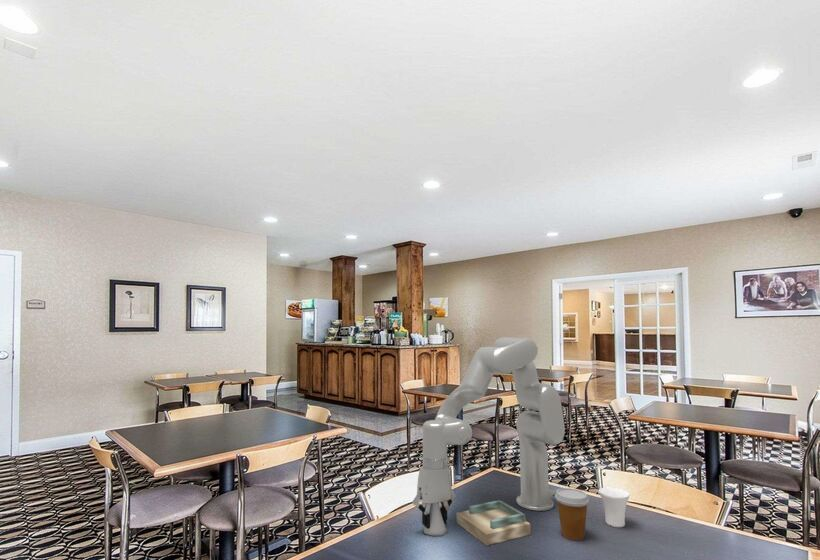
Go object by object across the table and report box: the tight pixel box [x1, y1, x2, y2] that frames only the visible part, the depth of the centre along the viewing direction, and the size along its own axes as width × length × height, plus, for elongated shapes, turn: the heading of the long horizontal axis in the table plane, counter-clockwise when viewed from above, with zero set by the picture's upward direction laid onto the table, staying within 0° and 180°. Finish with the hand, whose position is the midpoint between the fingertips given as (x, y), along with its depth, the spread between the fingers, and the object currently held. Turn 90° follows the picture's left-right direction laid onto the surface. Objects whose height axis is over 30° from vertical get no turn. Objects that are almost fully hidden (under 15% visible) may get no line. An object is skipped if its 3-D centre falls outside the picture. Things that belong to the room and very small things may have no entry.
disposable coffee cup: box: [554, 487, 590, 541], centre depth 128 cm, size 10×10×12 cm
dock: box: [456, 499, 531, 546], centre depth 132 cm, size 16×16×5 cm
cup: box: [597, 486, 631, 528], centre depth 136 cm, size 9×9×10 cm
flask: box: [422, 502, 448, 537], centre depth 130 cm, size 7×7×10 cm
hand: (434, 524), depth 130 cm, fingers closed on flask, 5 cm apart
